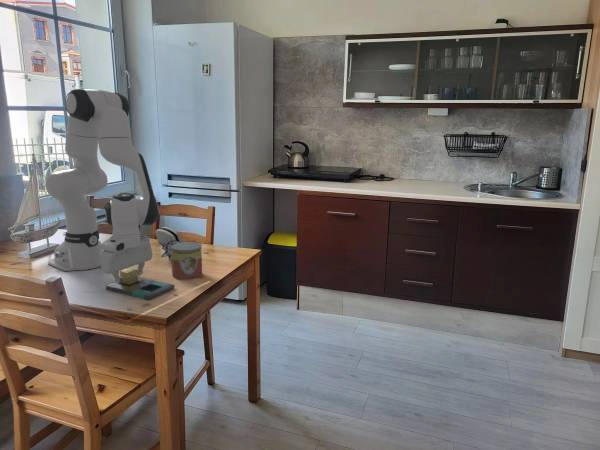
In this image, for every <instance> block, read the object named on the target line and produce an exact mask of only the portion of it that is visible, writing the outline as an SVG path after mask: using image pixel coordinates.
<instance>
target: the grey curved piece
mask: <svg viewBox="0 0 600 450" xmlns="http://www.w3.org/2000/svg"><path fill="white" fill-rule="evenodd" d="M154 234H155V236H156V239H157V242H158V243H159V244H160V245H162V244H163V245H164V242H166V243H167V242H169V241H171V239H172V238H173V237H174V238H175V239H176V241H178V242H179V241H181V240H182V238H181V235H180V233H178V231H176V230H174V229H173V228H171V227H167V226H162V227H159V228H158V229H156V230H155V231H154ZM164 246H165V245H164Z"/></svg>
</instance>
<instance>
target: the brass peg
mask: <svg viewBox="0 0 600 450" xmlns="http://www.w3.org/2000/svg"><path fill="white" fill-rule="evenodd" d="M119 274H120V275H119V277H122V282H121V285H125V286H132V285H134V284H137V283H138V277H139V275H138V273H137V269H134V268H131V267H128V268H126V269H123V270H120V271H119Z"/></svg>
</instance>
